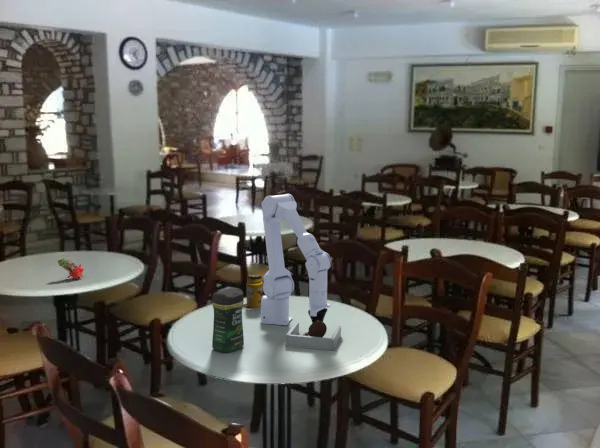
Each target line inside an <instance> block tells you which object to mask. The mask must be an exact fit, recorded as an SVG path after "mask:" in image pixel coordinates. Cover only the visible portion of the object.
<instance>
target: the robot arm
mask: <svg viewBox="0 0 600 448" xmlns="http://www.w3.org/2000/svg"><path fill="white" fill-rule="evenodd" d="M297 204H298V203H297V202H296V200H295V198H294V196H293V195H292V194H290V193H285V194H276V195H266V196H265V197H264V199H263V201H261V210H262V211H261V212H262V221H263V231H264V237H265V238H264V239H265V246H266V247H265V248H266V254H267V262H268V271H266V273H265V274H264V275H263V293H264V294H263V297H262V300H261V308H260V324H265V325H266V324H267V325H277V326H287V325H289V323H290V322H291V320H292V319H293V317H292V316H290V296H292V295H291V293H292V292H294V289H295V282H294V280H293V278H292V273H291V271H290V270H289V269H287V268H286V267H285V265H286V264H285V259H284V257H285V255H284V249H283V248H284V247H283V242H282V234H281V225H280V223H281V221H282V220H285V222H287V224H288V225H289V227H290V228H291V230H292V231H293V232H294V234H295V235H296V237H297V241H296V244H297V246H298V248H299V249H300V251H301V252H302V255H303V257H304V258H305V260H306V262H304V263H305V268H306V270H307V276H308V279H309V281H308V282H309V283H308V287H309V288H308V291H309V293H308V308H309V310H308V311H307V313H308V316H309V318H310V320H311V324H312V323H313V322H315V321H317V320H318V321H322V322H324V320H325V316H326V314H327V312H328V308H330V307H331V306H332V304H331V303H328V270H330V268H331V266H332V259H331V256H330V254H329V253H328V252H326V251H324V250H323V249H322V248H321V247H320V246H319V243H318V242H317V239H316V238H315V236H314V235H313V234H312V233H309V232H307V229H306V227H305V225H304V223H303V221H302V219H301V217H300V215H299V213H298V211H297V207H298V205H297Z"/></svg>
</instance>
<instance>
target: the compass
mask: <svg viewBox="0 0 600 448" xmlns="http://www.w3.org/2000/svg"><path fill="white" fill-rule="evenodd" d="M327 328H328V327H327V324H326V323H325V322H324V321H323V322H322V321H318V320H317V321H315V322H313V323H312V322H311V324H310V325H309V327H308V331H306V332H304V333H303V334H302V336H312V337H323V338H324V336H325V335H326V334H327V330H328V329H327Z"/></svg>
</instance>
